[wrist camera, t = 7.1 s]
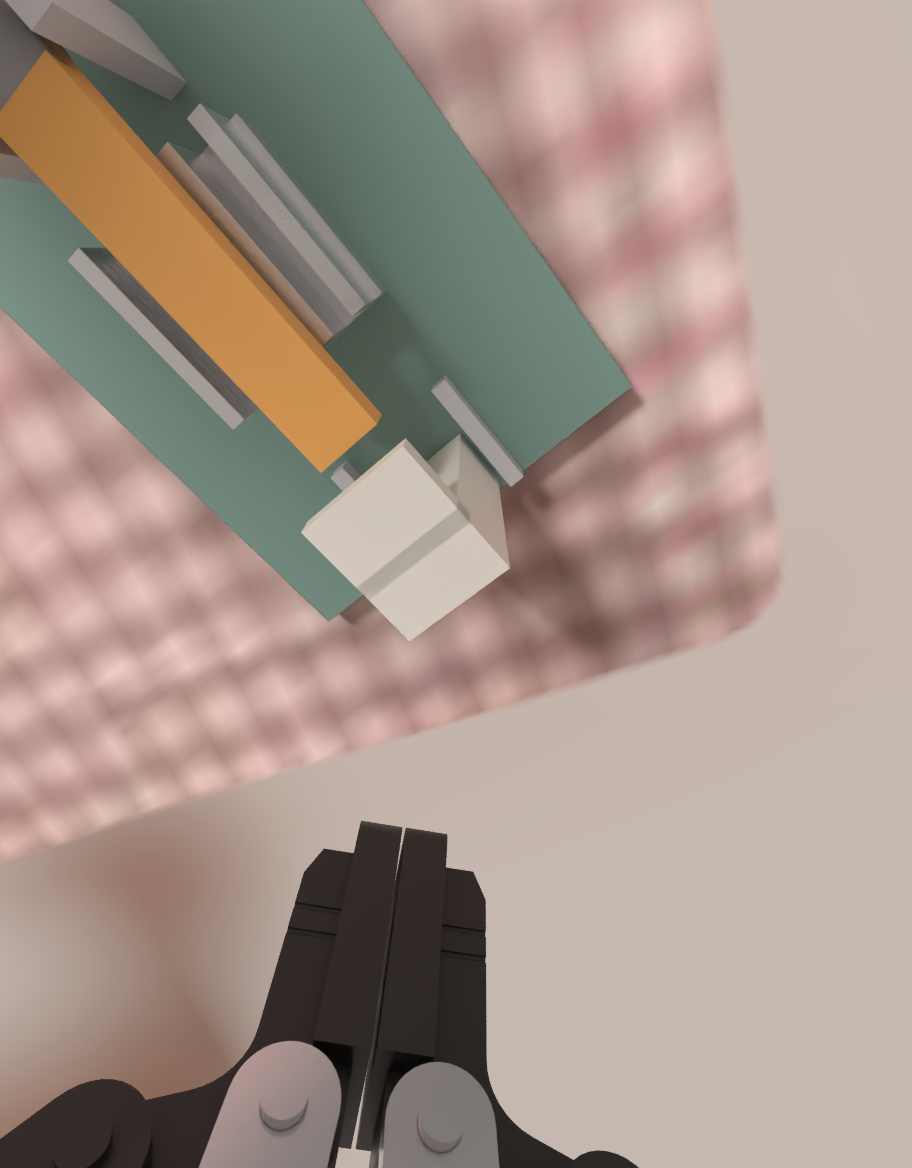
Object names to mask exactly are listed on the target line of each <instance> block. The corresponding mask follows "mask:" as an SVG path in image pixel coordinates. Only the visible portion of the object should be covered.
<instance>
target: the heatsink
mask: <svg viewBox="0 0 912 1168" xmlns="http://www.w3.org/2000/svg"><path fill="white" fill-rule="evenodd" d="M187 120H188V121H189V122H190V123H191V124H192V125H193V127H194V128H195V129H196V130H197V131H198V133H199V134H200V135H201V136H202V137H203V139H204V140H205V141H206V142H207V143H208V146H207V148H206V149H205V150H204V151H203V152H202V153H198V152H195V151H192V150H190V149H187V148H184V147H181V146H179V145H176V144H173V143H170V142H167V143H166V144H165V145H164V146H163V148H162V149H161V150H160V151H159V152H158V154H157V155H156V157H157V159H158V160H159V161H160V162H161V163H162V164H163V165H164V167H165V168H166V169H167V170H168V171H169V172H170V173H171V175H172V176H173V177H174V178H175V179H176V180H177V181H178V183H179V184H180V185H181V186H182V187H183V188H184V189H185V191H186V192H187V193H188V194H189V195H190V196H191V197H192V199H193V200H194V201H195V202H196V203H197V204H198V205H199V207H200V208H201V209H202V210H203V211H204V212H205V213H206V214H207V216H208V217H209V218H210V219H211V220H212V221H213V222H214V224H215V225H216V226H217V227H218V228H219V229H220V230H221V232H222V233H223V234H224V235H225V236H226V237H227V238H228V240H229V241H230V242H231V243H232V244H233V245H234V246H235V248H236V249H237V250H238V251H239V252H240V253H241V254H242V256H243V257H244V258H245V259H246V260H247V261H248V262H249V264H250V265H251V266H252V267H253V268H254V269H255V270H256V272H257V273H258V274H259V275H260V276H261V277H262V278H263V280H264V281H265V282H266V283H267V284H268V285H269V286H270V287H271V289H272V290H273V291H274V292H275V293H276V294H277V295H278V297H279V298H280V299H281V300H282V301H283V302H284V303H285V305H286V306H287V307H288V308H289V309H290V310H291V311H292V313H293V314H294V315H295V316H296V317H297V318H298V319H299V321H300V322H301V323H302V324H303V325H304V326H305V327H306V329H307V330H308V331H309V332H310V333H311V334H312V335H313V337H314V338H315V339H316V340H317V341H318V342H319V343H320V345H321V346H322V347H323V348H324V349H326V348H327V347H328V346H329V345H330V344H331V343H333V342H334V341H335V340H336V339H337V338H338V337H339V336H340V335H341V334H342V333H343V332H344V331H345V330H346V329H347V328H348V327H349V326H351V325H352V324H353V323H354V322H355V321H356V320H357V319H358V318H359V317H360V316H361V315H362V314H363V313H364V312H365V311H366V310H367V309H368V308H370V307H371V306H372V305H373V304H374V303H375V302H376V301H377V300H378V299H379V298H380V297H381V296H382V295H383V294H384V293H385V292H386V291H387V290H388V289H387V287H386V286H385V285H384V284H383V282H382V281H381V280H380V279H379V277H378V276H377V275H376V274H375V273H374V271H373V270H372V269H371V268H370V266H369V265H368V264H367V263H366V261H365V260H364V259H363V258H362V256H361V255H360V254H359V253H358V251H357V250H356V249H355V248H354V246H353V245H352V244H351V243H350V241H349V240H348V239H347V238H346V236H345V235H344V234H343V233H342V232H341V230H340V229H339V228H338V227H337V225H336V224H335V223H334V222H333V220H332V219H331V218H330V217H329V215H328V214H327V213H326V212H325V210H324V209H323V208H322V207H321V205H320V204H319V203H318V202H317V200H316V199H315V198H314V197H313V195H312V194H311V193H310V192H309V191H308V189H307V188H306V187H305V186H304V184H303V183H302V182H301V181H300V179H299V178H298V177H297V176H296V174H295V173H294V172H293V171H292V169H291V168H290V167H289V166H288V164H287V163H286V162H285V161H284V159H283V158H282V157H281V156H280V154H279V153H278V152H277V151H276V150H275V148H274V147H273V146H272V145H271V143H270V142H269V141H268V140H267V138H266V137H265V136H264V135H263V133H262V132H261V131H260V130H259V128H258V127H257V126H256V125H255V124H254V123H253V122H251V121H249V120H248V119H246V118H244V117H243V116H241V115H239V114H237V113H236V114H235V115H234V116H233V117H232V119H231V120H230V119H228V118H226V117H224V116H223V115H221V114H219V113H217V112H215V111H213V110H212V109H210V108H208V107H206V106H204V105H202V104H201V103H200V104H199V105H198V106H197V107H196V108H195V109H194V111H193V112H192V113H191V114H190V115H189V117H188V118H187ZM68 262H69V263H70V264H71V265H72V266H73V267H74V268H75V269H76V270H77V271H78V272H79V273H80V274H81V275H82V276H83V277H84V278H85V279H86V280H87V281H88V282H89V283H90V284H91V285H92V286H93V287H94V288H95V289H96V290H97V291H98V292H99V293H100V294H101V295H102V296H103V298H104V299H105V300H106V301H107V302H108V303H109V304H110V305H111V306H112V307H113V308H114V309H115V310H116V311H117V312H118V313H119V314H120V315H121V316H122V317H123V318H124V319H125V320H126V321H127V322H128V323H129V324H130V325H131V326H132V327H133V328H134V329H135V330H136V331H137V332H138V333H139V334H140V335H141V336H142V337H143V338H144V339H145V340H146V341H147V342H148V344H149V345H150V346H151V347H152V348H153V349H154V350H155V351H156V352H157V353H158V354H159V355H160V356H161V357H162V358H163V359H164V360H165V361H166V362H167V363H168V364H169V365H170V366H171V367H172V368H173V369H174V370H175V371H176V372H177V373H178V374H179V375H180V376H181V377H182V378H183V379H184V380H185V381H186V382H187V383H188V384H189V385H190V386H191V387H192V388H193V390H194V391H195V392H196V393H197V394H198V395H199V396H200V397H201V398H202V399H203V400H204V401H205V402H206V403H207V404H208V405H209V406H210V407H211V408H212V409H213V410H214V411H215V412H216V413H217V414H218V415H219V416H220V417H221V418H222V419H223V420H224V421H225V422H226V423H227V424H228V425H229V426H230V427H231V428H232V429H233V430H234V429H235V428H237V427H238V426H239V425H240V424H242V423H243V422H244V421H246V420H247V419H248V418H251V417H252V416H253V415H255V414H256V413H257V412H258V411H260V409H259V408H258V407H257V406H256V405H255V403H254V402H253V401H252V400H251V399H250V398H249V397H248V396H247V395H246V394H245V393H244V392H243V391H242V390H241V389H240V388H239V387H238V386H237V385H236V384H235V382H234V381H233V380H232V379H231V378H230V377H229V376H228V375H227V374H226V373H225V372H224V371H223V370H222V369H221V368H220V367H219V366H218V365H217V364H216V363H215V362H214V360H213V359H212V358H211V357H210V356H209V355H208V354H207V353H206V352H205V351H204V350H203V349H202V348H201V347H200V346H199V345H198V344H197V343H196V342H195V341H194V339H193V338H192V337H191V336H190V335H189V334H188V333H187V332H186V331H185V330H184V329H183V328H182V327H181V326H180V325H179V324H178V323H177V322H176V321H175V320H174V319H173V317H172V316H171V315H170V314H169V313H168V312H167V311H166V310H165V309H164V308H163V307H162V306H161V305H160V304H159V303H158V302H157V301H156V300H155V299H154V298H153V296H152V295H151V294H150V293H149V292H148V291H147V290H146V289H145V288H144V287H143V286H142V285H141V284H140V283H139V282H138V281H137V280H136V279H135V278H134V277H133V276H132V274H131V273H130V272H129V271H128V270H127V269H126V268H125V267H124V266H123V265H122V264H121V263H120V262H119V261H118V260H117V259H116V258H115V257H114V256H113V255H112V253H111V252H110V251H109V250H108V249H107V248H78V249H77V250H76V251H75V252H74V254H73V255H72V256H71V257H70V258H69V260H68Z"/></svg>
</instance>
